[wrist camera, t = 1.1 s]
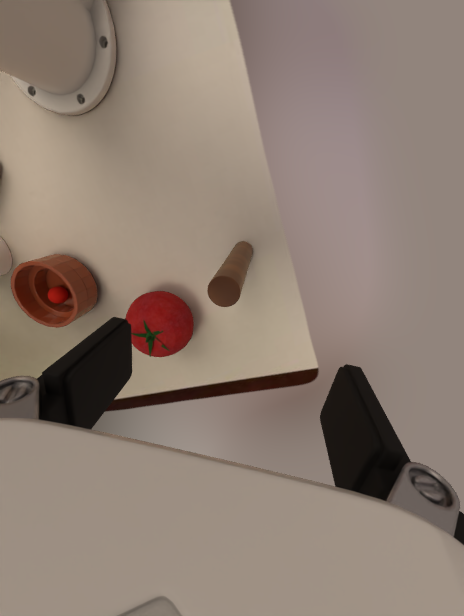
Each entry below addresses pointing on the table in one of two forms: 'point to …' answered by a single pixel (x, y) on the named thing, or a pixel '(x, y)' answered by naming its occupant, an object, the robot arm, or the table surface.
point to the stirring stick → (231, 276)
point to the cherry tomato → (57, 295)
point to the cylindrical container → (4, 258)
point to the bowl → (45, 275)
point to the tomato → (160, 323)
